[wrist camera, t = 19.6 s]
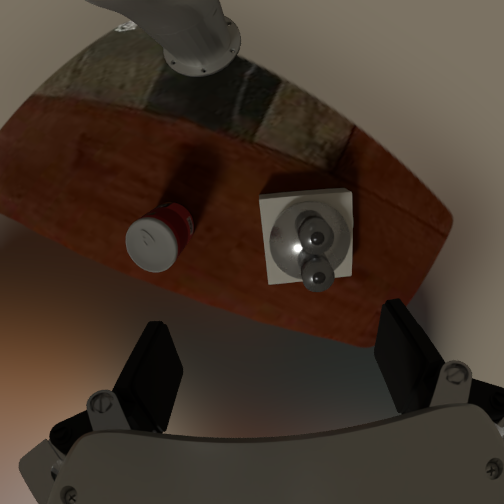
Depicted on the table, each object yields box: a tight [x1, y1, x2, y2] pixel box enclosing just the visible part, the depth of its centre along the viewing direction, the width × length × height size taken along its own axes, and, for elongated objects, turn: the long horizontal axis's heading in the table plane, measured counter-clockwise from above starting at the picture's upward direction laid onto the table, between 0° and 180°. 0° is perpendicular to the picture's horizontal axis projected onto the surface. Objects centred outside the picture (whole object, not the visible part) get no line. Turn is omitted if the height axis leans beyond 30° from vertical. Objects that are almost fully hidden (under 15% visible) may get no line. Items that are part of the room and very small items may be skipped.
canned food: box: [126, 202, 194, 272], centre depth 40 cm, size 8×8×11 cm
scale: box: [259, 188, 353, 284], centre depth 43 cm, size 14×14×4 cm
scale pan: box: [269, 201, 350, 279], centre depth 40 cm, size 12×12×1 cm
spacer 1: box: [295, 210, 334, 255], centre depth 36 cm, size 4×4×6 cm
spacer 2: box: [297, 249, 335, 292], centre depth 38 cm, size 4×4×6 cm
